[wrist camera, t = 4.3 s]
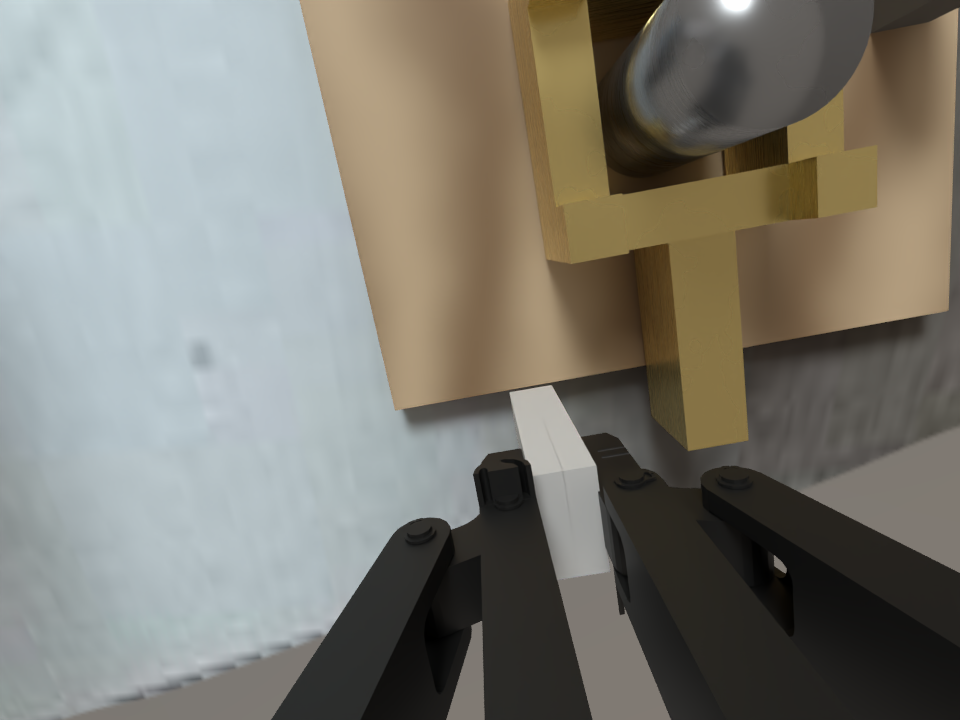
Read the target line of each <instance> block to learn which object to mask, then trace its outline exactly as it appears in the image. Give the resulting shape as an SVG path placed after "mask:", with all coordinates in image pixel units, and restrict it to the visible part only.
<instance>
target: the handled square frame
mask: <svg viewBox="0 0 960 720" xmlns="http://www.w3.org/2000/svg"><path fill="white" fill-rule="evenodd" d="M663 1H664V0H509V1H508V9H509V15H510V22H511V29H512V35H513V42H514V49H515V56H516V62H517V69H518V76H519V82H520V89H521V96H522V102H523V109H524V116H525V122H526V129H527V136H528V142H529V149H530V156H531V163H532V169H533V176H534V183H535V189H536V196H537V203H538V209H539V216H540V223H541V229H542V236H543V243H544V249H545V256H546V259H548V260H553V261H558V262H564V263H569V264H574V263H580V262H585V261H590V260H596V259H601V258H606V257H612V256H617V255H623V254H628V253H629V250H633V251H634V260H635V269H636V278H637V287H638V296H639V305H640V315H641V324H642V333H643V342H644V351H645V360H646V369H647V378H648V388H649V397H650V406H651V415H652V417H653V418H654V419H655V420H656V421H657V422H658V423H659V424H660V425H661V426H662V427H663V428H664V429H665V430H666V431H668V432H669V433H670V434H671V435H672V436H673V437H674V438H675V439H676V440H677V441H678V442H679V443H680V444H681V445H682V446H683V447H684V448H685V449H686V450H688V451H691V450H697V449H702V448H708V447H714V446H719V445H725V444H731V443H736V442H742V441H748V425H747V410H746V394H745V378H744V362H743V347H742V331H741V315H740V299H739V284H738V268H737V252H736V237H735V231H736V230H741V229H746V228H752V227H757V226H762V225H768V224H773V223H779V222H784V221H789V220H800V219H813V218H822V217H827V216H832V215H838V214H843V213H848V212H854V211H859V210H865V209H870V208H875V207H877V145H874V146H869V147H864V148H858V149H853V150H848V151H844V108H843V89H842V90H841V91H840V92H839V93H838V94H837V95H836V96H835V97H834V98H833V99H832V100H831V101H830V102H829V103H828V104H827V105H825V106H824V107H823V108H821V109H820V110H819V111H817V112H816V113H814V114H812V115H811V116H809V117H807V118H805V119H803V120H801V121H798V122H796V123H793V124H791V125H788V126H786V127H783V128H780V129H778V130H775V131H772V132H770V133H767V134H764V135H762V136H759V137H756V138H754V139H751V140H749V141H746V142H743V143H741V144H738V145H735V146H733V147H730V148H727V149H725V150H724V153H725V168H726V175H725V176H720V177H715V178H710V179H704V180H699V181H694V182H688V183H683V184H678V185H673V186H667V187H662V188H657V189H651V190H646V191H641V192H635V193H630V194H625V195H622V193H620V194H615V195H610V193H609V184H608V176H607V167H606V159H605V150H604V141H603V133H602V124H601V116H600V107H599V99H598V90H597V82H596V73H595V65H594V56H593V48H592V43H593V42H598V41H603V40H608V39H614V38H619V37H624V36H629V35H634V34H638V33H639V32H640V30H641V29H642V28H643V26H644V25H645V24H646V23H647V21H648V20H649V19H650V18H651V16H652V15H653V14H654V13H655V11H656V10H657V9H658V7H659V6H660V5H661V4H662V2H663Z"/></svg>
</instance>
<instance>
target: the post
mask: <svg viewBox="0 0 960 720" xmlns="http://www.w3.org/2000/svg"><path fill="white" fill-rule="evenodd" d="M873 17H874V0H664V1H663V2H662V4H661V5H660V6H659V7H658V9H657V10H656V11H655V13H654V14H653V15H652V16H651V18H650V19H649V20H648V21H647V23H646V24H645V25H644V26H643V28H642V29H641V30H640V32H639V33H638V34H637V35H636V37H635V38H634V39H633V40H632V42H631V43H630V44H629V46H628V47H627V48H626V49H625V51H624V52H623V53H622V54H621V56H620V57H619V58H618V59H617V61H616V62H615V63H614V65H613V66H612V67H611V68H610V70H609V71H608V72H607V73H606V75H605V76H604V77H603V79H602V80H601V81H600V82H599V84H598V86H597V90H598V99H599V107H600V116H601V124H602V133H603V141H604V150H605V159H606V165H607V166H608V167H609V168H611V169H612V170H614V171H616V172H618V173H620V174H622V175H625V176H628V177H635V178H645V177H651V176H655V175H658V174H661V173H664V172H666V171H669V170H672V169H674V168H677V167H680V166H682V165H685V164H688V163H690V162H693V161H695V160H698V159H701V158H703V157H706V156H709V155H711V154H714V153H717V152H719V151H722V150H725V149H727V148H730V147H733V146H735V145H738V144H741V143H743V142H746V141H749V140H751V139H754V138H756V137H759V136H762V135H764V134H767V133H770V132H772V131H775V130H778V129H780V128H783V127H786V126H788V125H791V124H793V123H796V122H798V121H801V120H803V119H805V118H807V117H809V116H811V115H812V114H814V113H816V112H817V111H819V110H820V109H821V108H823V107H824V106H825V105H827V104H828V103H829V102H830V101H831V100H832V99H833V98H834V97H835V96H836V95H837V94H838V93H839V92H840V91H841V90H842V89H843V87H844V86H845V85H846V84H847V82H848V81H849V80H850V78H851V77H852V75H853V74H854V72H855V70H856V69H857V67H858V65H859V63H860V61H861V59H862V57H863V54H864V52H865V49H866V47H867V44H868V40H869V37H870V33H871V29H872V23H873Z"/></svg>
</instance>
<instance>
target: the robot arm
mask: <svg viewBox="0 0 960 720" xmlns="http://www.w3.org/2000/svg"><path fill="white" fill-rule="evenodd" d="M509 393H510V398H511V404H512V410H513V416H514V422H515V428H516V434H517V440H518V446H519V449H515V450H509V451H503V452H497V453H491V454H488V455H487V456H486V458H485V459H484V460H483V461H482V464H481V465H480V466H478V467H477V468H476V469H475V471H474V474H473V476H474V481H475V486H476V492H477V497H478V502H479V507H480V514H479V515H478V516H477V517H476V518H475V519H474V520H472V521H470V522H469V523H467V524H465V525H463V526H461V527H458V528H455V529H452V530H451V528H450V526H449V524H448V523H447V522H446V521H444V520H442V519H440V518H420V519H416V520H415V521H414V520H413V521H411V522H409V523H407V524H406V525H404V526H402V527H401V528H399V529H398V530H397V531H396V532H395V533H394V534H393V535H392V537H391V538H390V540H389V541H388V543H387V544H386V546H385V547H384V549H383V550H382V552H381V553H380V555H379V556H378V558H377V559H376V561H375V563H374V564H373V566H372V567H371V569H370V570H369V572H368V573H367V575H366V576H365V578H364V579H363V581H362V582H361V584H360V585H359V587H358V588H357V590H356V591H355V593H354V594H353V596H352V598H351V599H350V601H349V602H348V604H347V605H346V607H345V608H344V610H343V611H342V613H341V614H340V616H339V617H338V619H337V620H336V622H335V623H334V625H333V626H332V628H331V629H330V631H329V633H328V634H327V636H326V637H325V639H324V640H323V642H322V643H321V645H320V646H319V648H318V649H317V651H316V653H315V654H314V655H313V657H312V658H311V660H310V662H309V663H308V664H307V666H306V668H305V669H304V671H303V672H302V674H301V675H300V677H299V678H298V680H297V681H296V683H295V684H294V686H293V687H292V689H291V690H290V692H289V693H288V695H287V697H286V698H285V700H284V701H283V703H282V704H281V706H280V707H279V709H278V710H277V712H276V713H275V715H274V716H273V718H272V719H271V720H446V718H447V715H448V712H449V709H450V705H451V702H452V699H453V696H454V692H455V689H456V685H457V682H458V679H459V676H460V673H461V669H462V666H463V663H464V659H465V656H466V653H467V650H468V646H469V643H470V640H471V632H472V631H471V630H472V629H471V625H473V624H475V623H478V622H480V621H482V625H483V666H484V667H483V668H484V705H485V706H484V708H485V720H592V716H591V712H590V708H589V705H588V701H587V696H586V693H585V689H584V685H583V681H582V677H581V673H580V669H579V665H578V661H577V657H576V653H575V649H574V645H573V642H572V637H571V634H570V629H569V625H568V621H567V618H566V613H565V609H564V606H563V601H562V597H561V593H560V589H559V585H558V582H557V580H563V579H569V578H575V577H581V576H588V575H594V574H600V573H606V572H610V565H609V558H608V554H609V557H610V559H611V561H612V563H613V567H614V575H615V582H616V590H617V598H618V605H619V612H620V615H622V614H625V611H624V606H625V609H626V611H627V614H628V616H629V619H630V621H631V623H632V625H633V628H634V630H635V633H636V635H637V638H638V640H639V643H640V645H641V647H642V650H643V652H644V655H645V657H646V660H647V662H648V665H649V667H650V669H651V672H652V674H653V677H654V679H655V682H656V684H657V686H658V689H659V691H660V694H661V696H662V699H663V701H664V703H665V706H666V708H667V711H668V713H669V715H670V718H671V720H960V573H958V572H957V571H955V570H953V569H951V568H949V567H947V566H945V565H943V564H940V563H939V562H936V561H935V560H932V559H931V558H929V557H927V556H925V555H923V554H921V553H919V552H917V551H915V550H913V549H911V548H909V547H907V546H905V545H903V544H901V543H899V542H897V541H895V540H893V539H891V538H889V537H887V536H885V535H883V534H881V533H879V532H877V531H875V530H873V529H871V528H869V527H867V526H865V525H863V524H861V523H859V522H857V521H855V520H853V519H851V518H849V517H847V516H845V515H843V514H841V513H839V512H837V511H835V510H833V509H831V508H829V507H827V506H825V505H823V504H821V503H819V502H818V501H816V500H814V499H812V498H809V497H807V496H806V495H804V494H801V493H800V492H798V491H796V490H794V489H792V488H790V487H788V486H786V485H784V484H782V483H780V482H778V481H776V480H774V479H772V478H770V477H768V476H766V475H764V474H762V473H760V472H757V471H754V470H751V469H747V468H741V467H738V466H731V467H729V466H723V467H721V468H715V469H712V470H709V471H707V472H705V473H704V474H703V475H702V477H701V488H672V487H668V485H667V484H666V483H665V482H664V480H663V479H662V478H661V477H660V476H659V475H658V474H656V473H655V472H653V471H650V470H647V469H641V468H640V467H639V465H638V464H637V463H636V461H635V460H634V459H633V457H632V456H631V455H630V454H629V452H628V451H627V449H626V448H625V447H624V445H623V444H622V443H621V441H620V440H619V439H618V438H617V437H614V436H612V435H610V434H608V433H602V434H596V435H590V436H584V437H580V435H579V433H578V432H577V430H576V428H575V426H574V424H573V423H572V421H571V419H570V417H569V415H568V414H567V412H566V410H565V408H564V406H563V405H562V403H561V401H560V399H559V397H558V396H557V394H556V392H555V390H554V388H553V387H552V385H549V386H543V387H537V388H531V389H526V390H520V391H514V392H509ZM774 555H775V556H776V557H777V558H778V559H780V560H781V561H782V562H783V564H784V565H785V566H786V568H787V572H786V574H785V573H783V572H782V571H780V570H779V569H777V568H776V567H775V566H774Z"/></svg>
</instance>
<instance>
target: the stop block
mask: <svg viewBox="0 0 960 720" xmlns="http://www.w3.org/2000/svg"><path fill="white" fill-rule="evenodd" d="M959 7H960V0H874V17H873V23H872V29H871V33H876V32H881V31H886V30H891V29H896V28H901V27H907V26H912V25H917V24H922V23H927V22H930V21H932V20H934V19H936V18H938V17H940V16H942V15H944V14H947V13H949V12H951V11H953V10H955V9H957V8H959ZM871 33H870V34H871Z"/></svg>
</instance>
